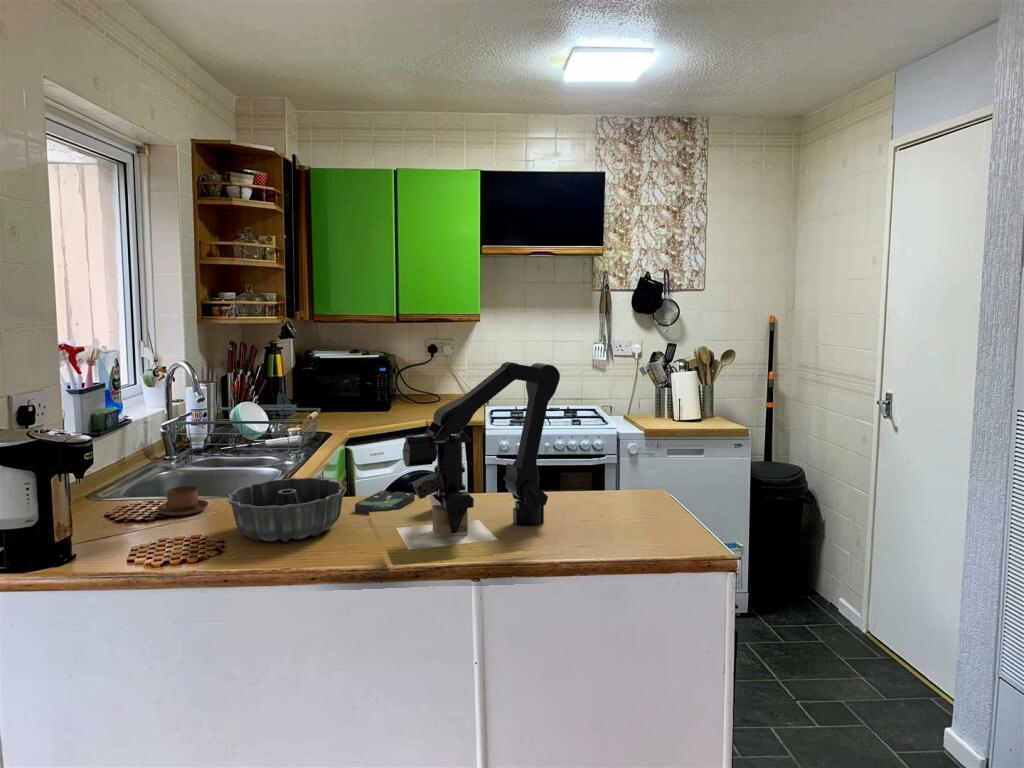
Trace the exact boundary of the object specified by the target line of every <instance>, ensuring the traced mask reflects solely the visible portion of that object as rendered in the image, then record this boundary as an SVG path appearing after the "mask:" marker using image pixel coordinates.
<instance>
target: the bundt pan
mask: <svg viewBox="0 0 1024 768" xmlns="http://www.w3.org/2000/svg"><path fill="white" fill-rule="evenodd" d="M345 490H346V487H345V486H343V485H342V483H341V482H339V481H335V480H331V479H330V478H328V479H327V478H326V479H325V478H319V477H318V478H317V477H299V478H298V477H291V478H284V479H280V478H279V479H272V480H265V481H262V482H259V483H252V484H251V483H250V484H249V485H247V486H242V487H239V488H237V489H235V490H233V492H232V493H230V494H227V499H228V500H227V501H228V503H229V504H230V505H231V509H232V513H233V518H234V521H235V525H236V527H237V530H239V532H240V533H242V534H243V535H244V536H246V537H249V538H250V539H251V540H253V541H256V542H257V541H258V542H259V541H260V542H261V541H266V542H268V543H270V542H271V543H272V542H276V541H279V540H281V541H282V542H284V543H287V542H288V541H289V540H291V539H293V540H304V539H306V538H307V537H317V536H319V535H320V534H321V533H323V532H326V531H327V530H329V529H331V528H332V527H333V525H334V524H335V523H336V522H337V521H338V520H339V518H340V516H341V511H342V505H343V503H342V502H343V496H344V491H345Z"/></svg>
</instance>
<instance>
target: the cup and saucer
mask: <svg viewBox="0 0 1024 768" xmlns="http://www.w3.org/2000/svg"><path fill="white" fill-rule="evenodd" d="M198 491H199V490H198V487H197V486H194V485H193V486H192V485H185V486H177V487H172V488H169V489H168V490H166V498H167V502H166V503H164V504H163V503H162V504H161V505H159V506H158V507H157V511H158V512H159V513H160V514H161V515H165V516H169V517H170V516H171V517H181V516H188V515H194V514H197V513H200V512H201V511H204V510H206V509H207V507H208V506H209V502H208V501H206V500H203V499H199V492H198Z"/></svg>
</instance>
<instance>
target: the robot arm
mask: <svg viewBox="0 0 1024 768" xmlns="http://www.w3.org/2000/svg"><path fill="white" fill-rule="evenodd" d="M560 374H561V373H560V371H559V370H558V367H556V366H554V365H552V364H547V363H540V362H536V363H533V364H531V365H524V364H519V363H516V362H510V361H504V362H503V363H502V364H501V365H500V366H499V367H498V368H497V369H496V370H495V371H493V372H492V373H490V375H489V376H487V377H486V378H485V379H483V380H481V382H479V383H478V384H477V385H476V386H475V387H474V388H472V389H471V390H469V391H468V392H467V393H466V394H465V395H463V396H461V397H459V398H456V399H453V400H451V401H449V402H447V403H445V404H444V405H442V406H440V407H438V408H437V409H436V410H435V412H434V413H433V421H431V423H430V425H429V426H428V428H427V430H426V431H425V432H424V435H405V437H404V438H405V439H404V440H405V441H404V443H403V448H402V458H403V459H402V461H403V463H404V465H405V467H406V468H411V467H419V466H428V465H433V463H434V462H437V464H436V465H435V466H434V467H433V471H434V472H432V473H430V474H427V475H424V476H422V477H420V478H419V479H416V480H414V481H412V482H411V485H412V487H413V489H414V493H415V495H416V496H417V497H418V499H420V500H422V499H425V498H426V497H427V496H430V494H432V493H434V492H436V494H434V495H433V496H434V498H435V499H436V500H438V501H439V502H440V504H441V506H442V507H443V508H444V509H445V510H446V511H447V512H448V517H449V522H450V527H451V532H452V533H456V532H457V530H458V528H459V526H460V524H461V521H462V519H463V517H464V515H465V513H466V511H467V509H471V508H474V505H475V504H474V503H475V501H474V497H473V496H472V495H470V493H468V491H466V485H465V484H464V479H463V478H464V473H465V472H466V471H465V470H466V468H465V467H464V466H463V465H464V464H463V443H471V442H472V439H471V438H470V437H469V436H468V435H467V434H466V433H465V432H464V431H463V430H464V429H465V427H467V425H468V424H469V423H470V422H471V421H472V419H473V417H474V415H475V413H476V412H478V411H479V409H481V408H482V407H483V406H484V405H486V404H487V403H488V402H490V400H492V399H493V398H494V397H495V396H497V395H498V394H499V393H500V392H501V391H503V390H504V389H505V388H506V387H508V386H509V385H511V383H513V382H514V381H522V382H523V381H524V382H525V389H526V393H527V405H526V409H525V414H524V415H525V416H524V420H523V426H522V431H521V436H520V439H519V440H520V441H519V446H518V451H517V456H516V459H515V460H514V462H513V463H512V464H511V463H506V466H505V467H506V469H505V475H504V477H503V478H502V479H503V480H504V481H505V483H504V484H505V488H506V489H507V491H508V492H509V493H511V496H512V498H513V499H514V500H515V501H514V506H515V507H513V508H512V523H513V524H514V525H515V526H519V527H522V526H523V527H534V526H535V527H536V526H540V525H541V524H545V523H544V522H545V506H546V505H547V502H548V499H549V496H548V495H547V494H546V493H545V492H544V491H543V490H541V489H540V487H539V485H540V484H539V483H540V474H539V469H538V463H537V460H538V455H539V451H540V445H541V440H542V434H543V429H544V423H545V419H546V414H547V410H548V404H549V402H550V401H551V399H552V398H553V396H554V395H555V393H556V392H557V388H558V385H559V382H560V379H561V375H560Z"/></svg>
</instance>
